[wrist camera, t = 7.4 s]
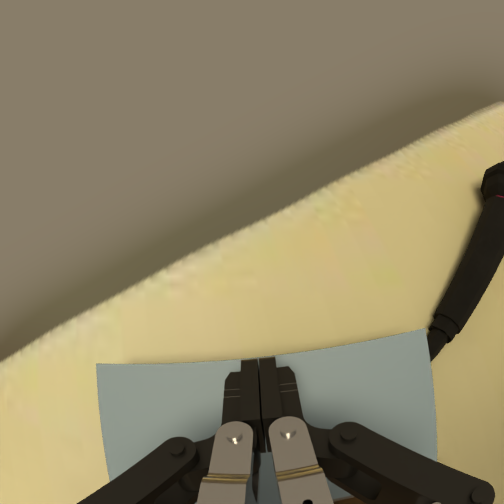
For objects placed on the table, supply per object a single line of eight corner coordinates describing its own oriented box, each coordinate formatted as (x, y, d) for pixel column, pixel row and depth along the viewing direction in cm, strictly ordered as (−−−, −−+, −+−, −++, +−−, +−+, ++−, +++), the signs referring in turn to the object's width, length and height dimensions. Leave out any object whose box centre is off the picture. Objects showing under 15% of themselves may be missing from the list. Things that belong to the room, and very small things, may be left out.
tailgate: (422, 470, 12) (410, 332, 15) (436, 478, 10) (425, 328, 14) (129, 498, 13) (112, 365, 16) (116, 508, 11) (96, 363, 14)
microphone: (411, 386, 18) (510, 204, 21) (460, 407, 13) (550, 188, 16) (366, 342, 19) (479, 161, 22) (413, 357, 13) (518, 137, 16)
